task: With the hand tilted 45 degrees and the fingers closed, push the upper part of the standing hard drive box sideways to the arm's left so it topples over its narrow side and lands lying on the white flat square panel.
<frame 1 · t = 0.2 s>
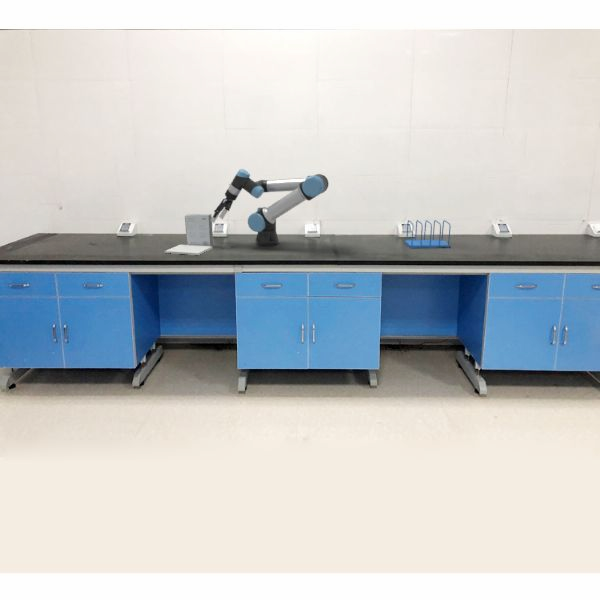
hand: (216, 219, 371), 16 cm above the worktop, tool tilted 35°, fingers open, 13 cm apart
file sorter: (427, 245, 374), on the worktop
hard drive box: (200, 246, 372), on the worktop
white flat square panel: (189, 251, 358), on the worktop
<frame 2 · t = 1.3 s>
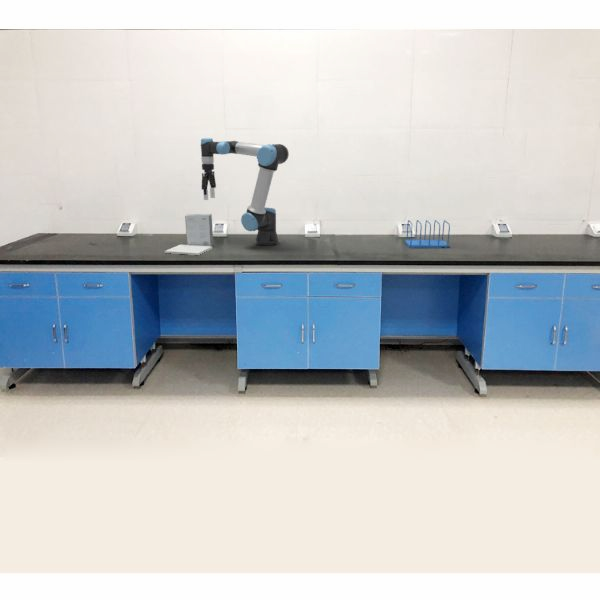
hand: (209, 198, 380), 28 cm above the worktop, tool pointing down, fingers open, 9 cm apart
nothing on the worktop moved.
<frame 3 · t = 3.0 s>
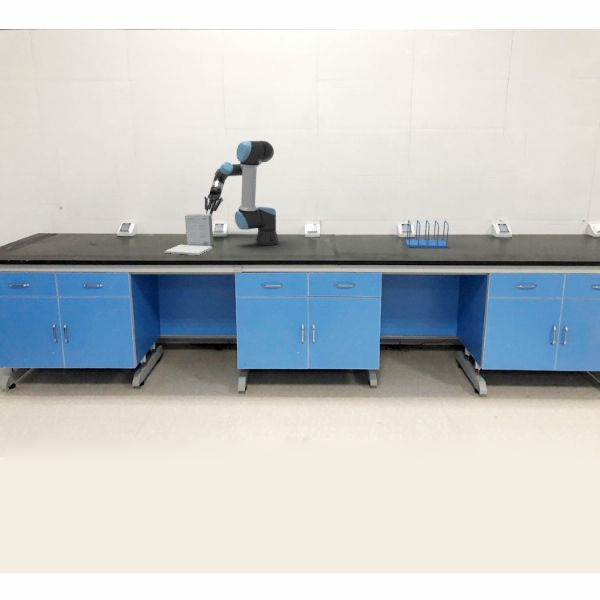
hand: (207, 218, 379), 15 cm above the worktop, tool tilted 45°, fingers closed
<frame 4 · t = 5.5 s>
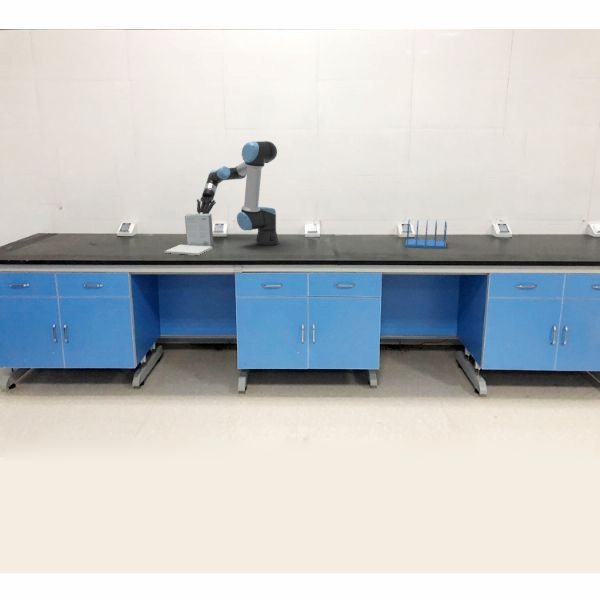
hand: (199, 222, 372), 14 cm above the worktop, tool tilted 45°, fingers closed
hard drive box: (200, 246, 372), on the worktop, touching gripper
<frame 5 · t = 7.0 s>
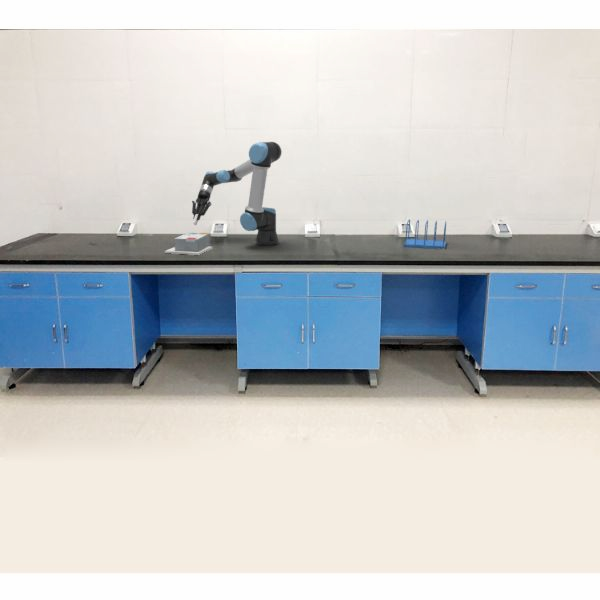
hand: (194, 223, 364), 15 cm above the worktop, tool tilted 45°, fingers closed
hard drive box: (199, 238, 368), point 5 cm above the worktop, touching white flat square panel
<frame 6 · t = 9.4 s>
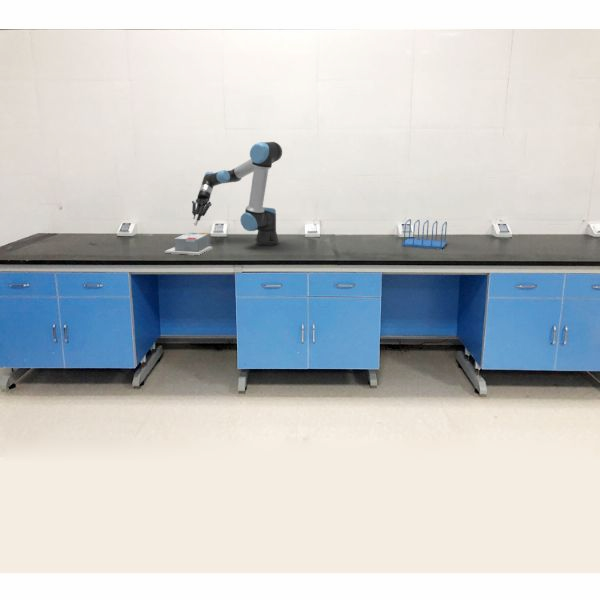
hand: (194, 224, 363), 15 cm above the worktop, tool tilted 45°, fingers closed
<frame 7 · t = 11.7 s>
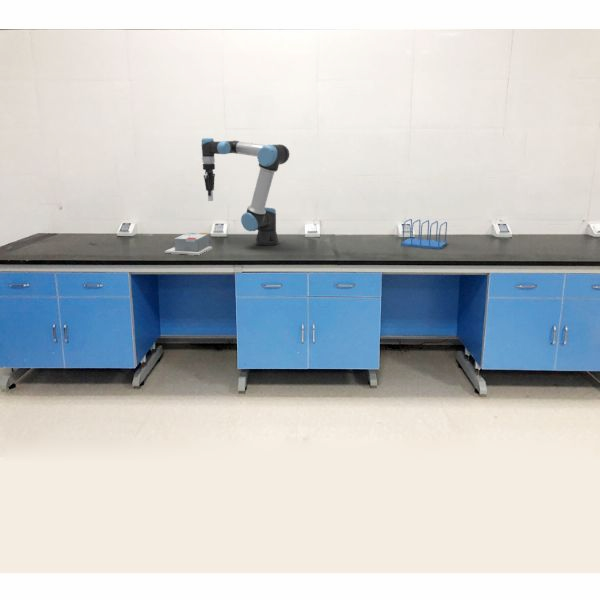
hand: (210, 200, 380), 27 cm above the worktop, tool pointing down, fingers closed
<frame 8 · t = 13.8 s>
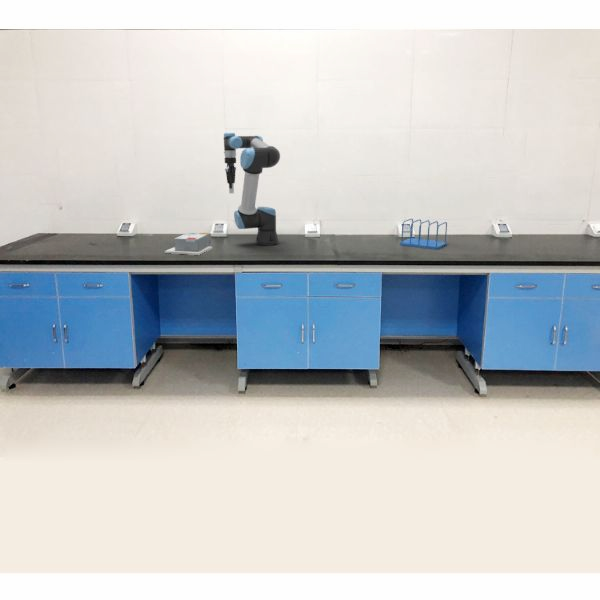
hand: (231, 193, 393), 29 cm above the worktop, tool pointing down, fingers closed
at the end: hard drive box tilted 90°; hard drive box inside the target area (13.8 cm from its centre), point 5.3 cm above the worktop; the gripper is holding nothing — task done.
